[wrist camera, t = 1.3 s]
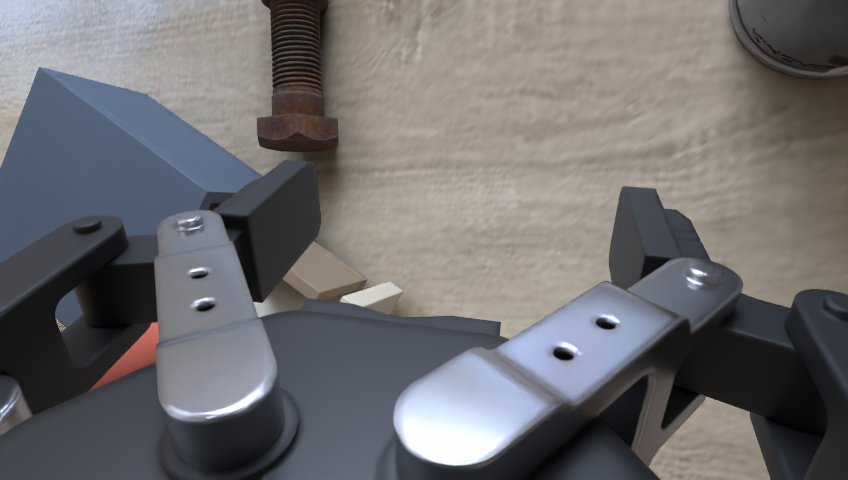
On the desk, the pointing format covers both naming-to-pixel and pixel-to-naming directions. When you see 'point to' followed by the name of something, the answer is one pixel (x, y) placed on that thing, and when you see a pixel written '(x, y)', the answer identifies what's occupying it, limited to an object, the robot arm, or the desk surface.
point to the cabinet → (104, 165)
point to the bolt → (296, 81)
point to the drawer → (336, 280)
